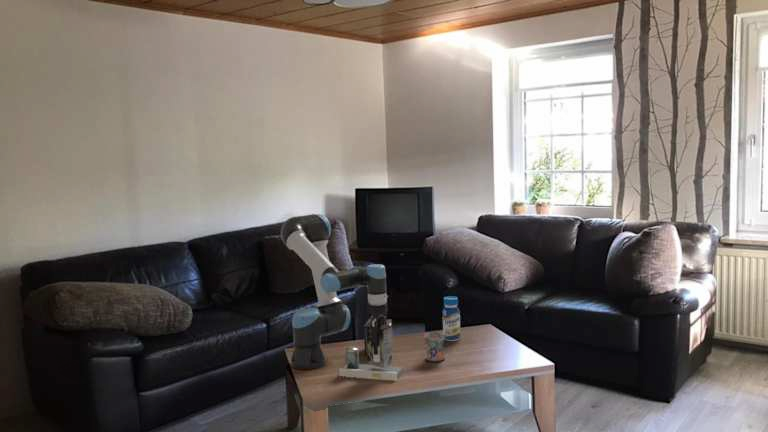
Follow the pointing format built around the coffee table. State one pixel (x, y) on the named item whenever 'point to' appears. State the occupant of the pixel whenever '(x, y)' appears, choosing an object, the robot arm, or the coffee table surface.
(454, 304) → the beverage bottle
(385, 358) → the coffee box
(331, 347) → the coffee table surface
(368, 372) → the shelf board
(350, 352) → the tea tin
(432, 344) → the mug
